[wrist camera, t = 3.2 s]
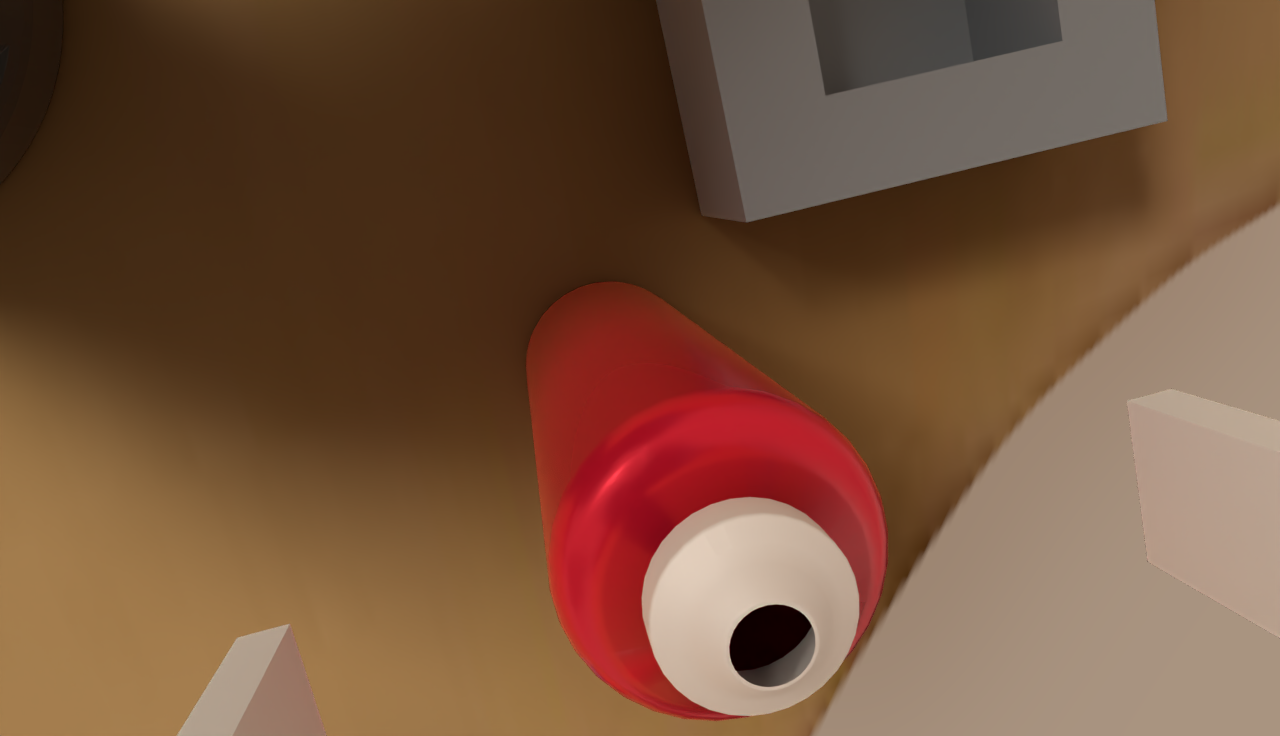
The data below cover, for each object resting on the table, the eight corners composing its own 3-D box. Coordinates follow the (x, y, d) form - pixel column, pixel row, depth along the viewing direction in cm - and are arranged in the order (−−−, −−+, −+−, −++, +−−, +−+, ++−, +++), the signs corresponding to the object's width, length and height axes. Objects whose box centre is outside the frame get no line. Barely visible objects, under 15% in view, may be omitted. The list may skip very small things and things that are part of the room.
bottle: (659, 256, 31) (910, 372, 12) (713, 410, 33) (1021, 742, 13) (500, 316, 31) (491, 536, 12) (560, 469, 32) (644, 901, 13)
